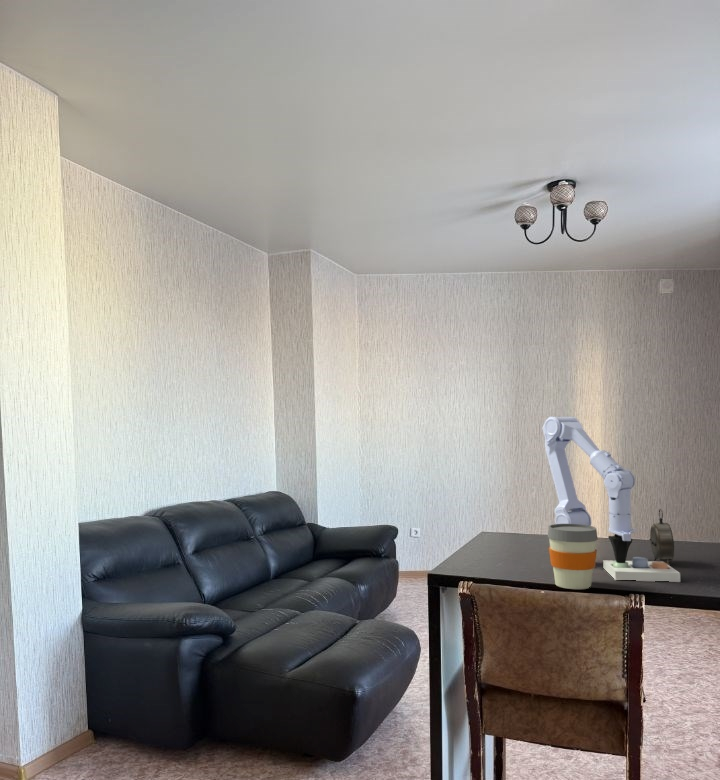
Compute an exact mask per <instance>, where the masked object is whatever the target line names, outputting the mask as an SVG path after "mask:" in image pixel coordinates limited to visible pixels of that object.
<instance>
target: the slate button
mask: <svg viewBox="0 0 720 780" xmlns="http://www.w3.org/2000/svg"><path fill="white" fill-rule="evenodd" d="M648 560H649V559H648V557H644V556H643V557H642V556H632V558H631V561H632V567H633V568H648Z"/></svg>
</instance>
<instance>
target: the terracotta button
mask: <svg viewBox="0 0 720 780" xmlns="http://www.w3.org/2000/svg"><path fill="white" fill-rule="evenodd" d="M652 568H653V569H668V564H667V562H665V563H664V561H657V562H652Z"/></svg>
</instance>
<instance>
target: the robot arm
mask: <svg viewBox="0 0 720 780" xmlns="http://www.w3.org/2000/svg"><path fill="white" fill-rule="evenodd" d="M583 427H584V426H583V424H582V423H581V422H580V421H579V420H578V418H577V417H575V416H549V417H547V418H546V420H545V421H544V423H543V426H542V427H541V429H542V432H543V435H544V449H545V453H546V456H547V461H548V464H549V468H550V472H551V476H552V479H553V480H552V481H553V483H554V488H555V492H556V496H557V500H558V505H556V507H555V508H554V511H553V512H554V514H555V517H554V523H555V524H582V525H589V526H592V517H591V515H590V513H589V512H588V511H587V509H586V505H585V504H584V503H583V502H581V501H580V500H579V499H578V496H577V492H576V488H575V484H574V481H573V477H572V473H571V469H570V466H569V463H568V459H567V455H566V451H565V449H566V448H567V446H568V445H569V444H570V442H572V441H573V442H574V443H575V444H576V445H577V446H578V447H579V448H580V449H581V450H582V451H583V452H584V453H585V454H586V455H587V456H588V457H589V464H590V465H591V466H592V468H594V470H595V471H596V472H597V473H598V474H599V475H600V476H601V477H602V479H603V485H604V487H605V489H606V490H607V492H606V493H607V496H608V526H609V528H608V533H609V534H614V535H609V536H607V537H608V539H609V542H610V543H611V546H612V550H613V555H614V558H615V561H616V562H617V563H625V561H627V557H628V553H629V552H628V551H629V548H630V547H631V544H632V543H633V538H632V534H634V533H635V534H636V532H637V531H636V529H634V528H632V504H631V503H632V501H631V500H632V499H631V495H632V494H631V490H632V489H633V488H634V486H635V482H636V479H635V476H634V474H633V473H632V471H631V470H630V469H626V468H623V467H622V465H621V464H619V463H618V462H617V461H616V460H615V459H614V458H613V457H612V454H611V452H610V451H607V450H600V448H599V447H598V446H597V445H596V443H595V442H594V441H593V440H592V439H591V437H590V436H589V435H588V433H587V432H586V431H585V430H584V428H583Z"/></svg>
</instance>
